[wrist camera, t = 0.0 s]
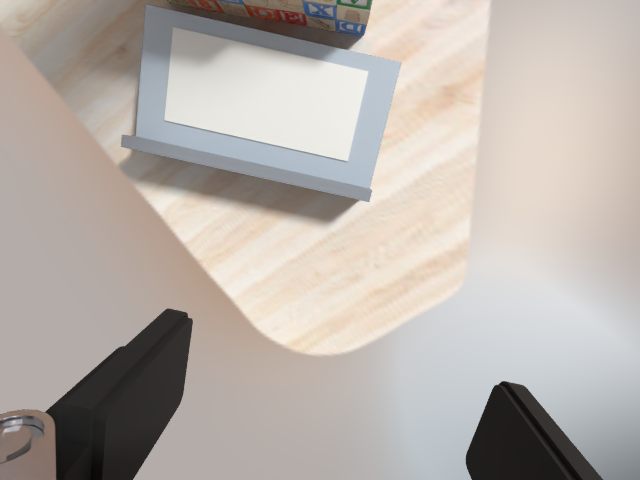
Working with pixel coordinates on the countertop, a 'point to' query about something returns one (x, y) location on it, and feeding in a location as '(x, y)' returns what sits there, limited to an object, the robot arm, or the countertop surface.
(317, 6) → the stack of blocks
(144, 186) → the countertop surface
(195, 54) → the tray
